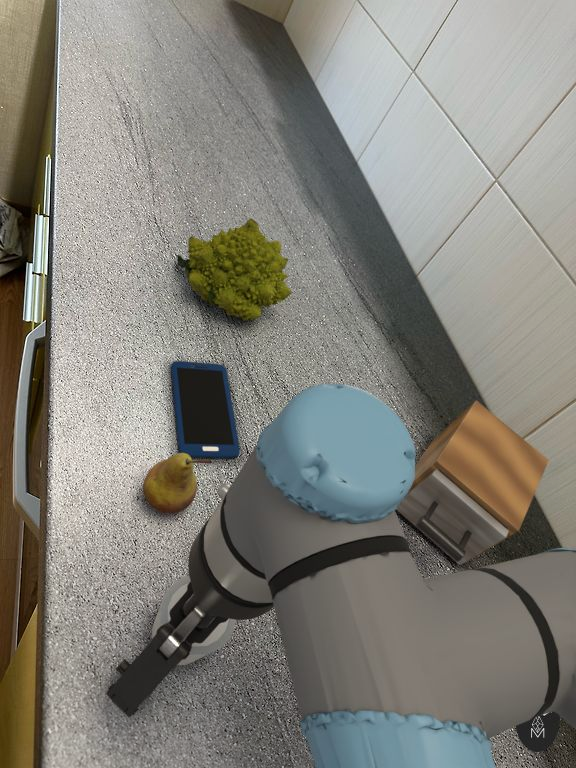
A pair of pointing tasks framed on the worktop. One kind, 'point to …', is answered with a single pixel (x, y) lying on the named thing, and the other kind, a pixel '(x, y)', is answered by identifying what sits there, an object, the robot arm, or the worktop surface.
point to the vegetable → (237, 270)
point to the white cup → (198, 650)
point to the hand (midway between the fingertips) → (180, 632)
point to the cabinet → (486, 465)
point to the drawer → (451, 517)
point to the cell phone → (204, 410)
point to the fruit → (171, 484)
